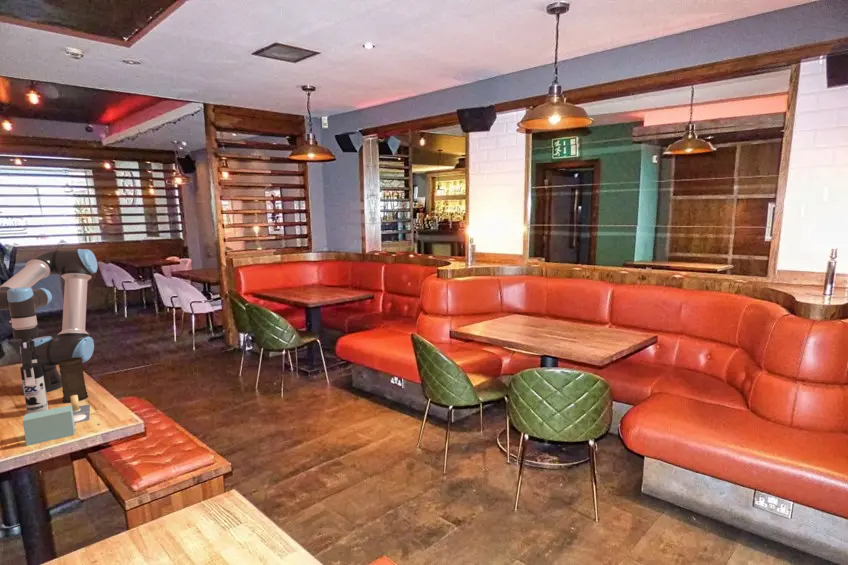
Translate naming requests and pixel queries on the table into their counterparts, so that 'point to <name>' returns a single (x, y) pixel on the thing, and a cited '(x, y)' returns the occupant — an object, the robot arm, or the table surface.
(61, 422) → the pale green block
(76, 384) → the container
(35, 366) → the spray can
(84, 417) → the slate board
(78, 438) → the table surface
